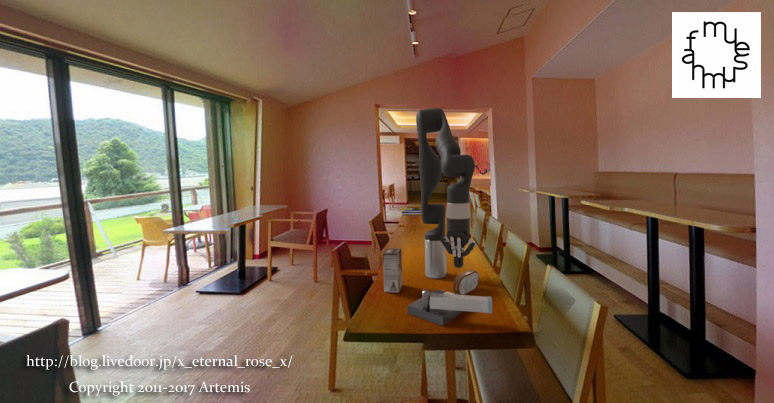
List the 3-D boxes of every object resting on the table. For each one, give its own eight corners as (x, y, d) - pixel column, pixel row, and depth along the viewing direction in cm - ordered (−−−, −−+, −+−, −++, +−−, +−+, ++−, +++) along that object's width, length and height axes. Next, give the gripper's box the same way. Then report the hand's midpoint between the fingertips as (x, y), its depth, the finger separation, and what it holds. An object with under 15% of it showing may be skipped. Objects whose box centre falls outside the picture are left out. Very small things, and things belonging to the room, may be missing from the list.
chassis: (436, 296, 124) (436, 273, 123) (469, 306, 115) (469, 281, 114) (407, 313, 111) (406, 287, 110) (442, 326, 102) (442, 297, 101)
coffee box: (388, 284, 139) (386, 247, 138) (402, 284, 138) (401, 248, 136) (383, 292, 131) (382, 253, 129) (399, 293, 129) (398, 254, 128)
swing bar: (430, 309, 105) (430, 296, 104) (431, 304, 108) (431, 292, 107) (492, 313, 100) (492, 300, 100) (491, 309, 103) (491, 296, 103)
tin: (473, 286, 134) (473, 266, 133) (480, 288, 132) (480, 268, 131) (452, 297, 124) (452, 275, 123) (459, 299, 122) (459, 277, 121)
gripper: (482, 216, 104) (482, 268, 106) (446, 213, 113) (447, 261, 115) (471, 219, 99) (471, 274, 101) (434, 216, 107) (435, 266, 109)
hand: (458, 267), depth 108 cm, fingers closed
